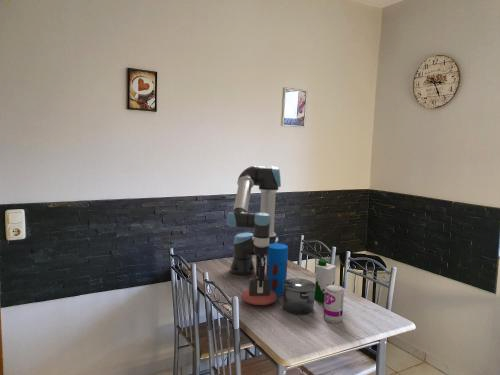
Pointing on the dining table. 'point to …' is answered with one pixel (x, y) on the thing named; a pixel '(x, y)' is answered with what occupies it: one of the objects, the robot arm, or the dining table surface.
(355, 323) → the dining table surface
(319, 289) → the milk carton
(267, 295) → the lid
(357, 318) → the dining table surface
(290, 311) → the pot
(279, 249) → the thermos
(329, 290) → the supplement can
